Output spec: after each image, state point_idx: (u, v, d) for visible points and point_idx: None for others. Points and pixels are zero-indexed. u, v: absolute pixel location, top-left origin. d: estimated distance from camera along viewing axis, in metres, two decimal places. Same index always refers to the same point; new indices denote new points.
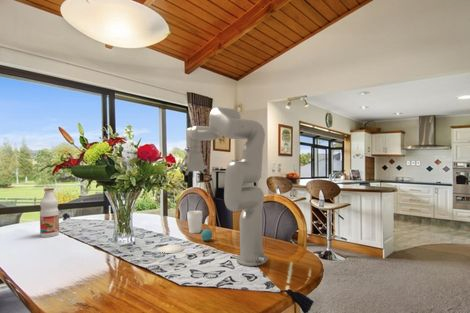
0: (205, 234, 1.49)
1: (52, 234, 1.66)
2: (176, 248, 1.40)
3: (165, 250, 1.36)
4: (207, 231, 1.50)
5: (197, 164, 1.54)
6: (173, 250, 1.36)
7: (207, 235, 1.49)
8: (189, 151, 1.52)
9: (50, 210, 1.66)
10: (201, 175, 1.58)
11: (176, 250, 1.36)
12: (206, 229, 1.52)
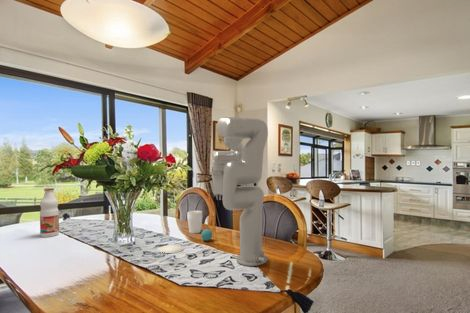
0: (205, 234, 1.49)
1: (52, 234, 1.66)
2: (176, 248, 1.40)
3: (165, 250, 1.36)
4: (207, 231, 1.50)
5: None
6: (173, 250, 1.36)
7: (207, 235, 1.49)
8: None
9: (50, 210, 1.66)
10: None
11: (176, 250, 1.36)
12: (206, 229, 1.52)
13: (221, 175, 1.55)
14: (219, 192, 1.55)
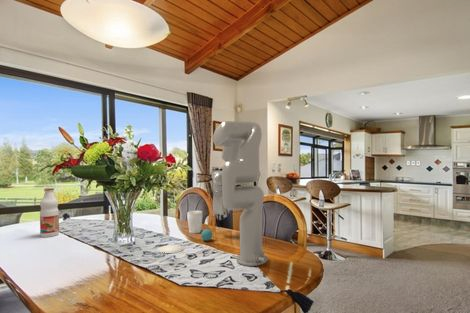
0: (205, 234, 1.49)
1: (52, 234, 1.66)
2: (176, 248, 1.40)
3: (165, 250, 1.36)
4: (207, 231, 1.50)
5: None
6: (173, 250, 1.36)
7: (207, 235, 1.49)
8: None
9: (50, 210, 1.66)
10: None
11: (176, 250, 1.36)
12: (206, 229, 1.52)
13: (221, 195, 1.55)
14: (220, 212, 1.55)
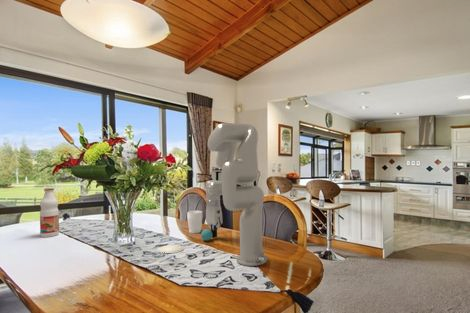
0: (205, 234, 1.49)
1: (52, 234, 1.66)
2: (176, 248, 1.40)
3: (165, 250, 1.36)
4: (207, 231, 1.50)
5: None
6: (173, 250, 1.36)
7: (207, 235, 1.49)
8: (218, 204, 1.53)
9: (50, 210, 1.66)
10: None
11: (176, 250, 1.36)
12: (206, 229, 1.52)
13: (214, 205, 1.51)
14: (212, 222, 1.52)
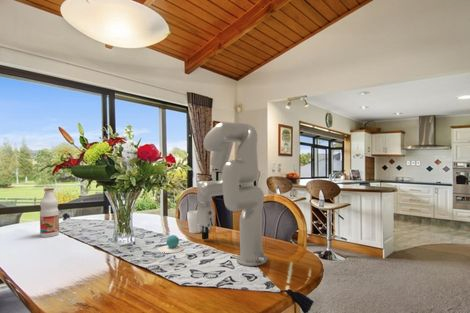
0: (171, 240, 1.39)
1: (52, 234, 1.66)
2: (176, 248, 1.40)
3: (165, 250, 1.36)
4: (173, 237, 1.40)
5: None
6: (173, 250, 1.36)
7: (172, 241, 1.38)
8: (210, 205, 1.50)
9: (50, 210, 1.66)
10: None
11: (176, 250, 1.36)
12: (172, 235, 1.41)
13: (205, 206, 1.48)
14: (204, 223, 1.48)
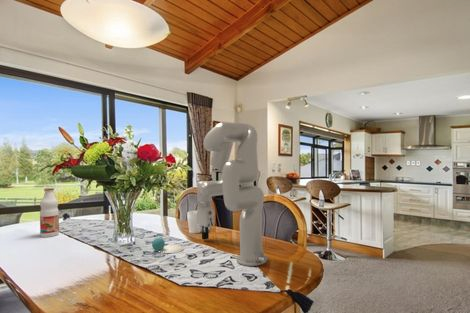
0: (160, 249, 1.36)
1: (52, 234, 1.66)
2: (176, 248, 1.40)
3: (165, 250, 1.36)
4: (156, 249, 1.35)
5: None
6: (173, 250, 1.36)
7: (161, 247, 1.35)
8: (210, 205, 1.50)
9: (50, 210, 1.66)
10: None
11: (176, 250, 1.36)
12: (154, 249, 1.36)
13: (205, 206, 1.48)
14: (204, 223, 1.48)
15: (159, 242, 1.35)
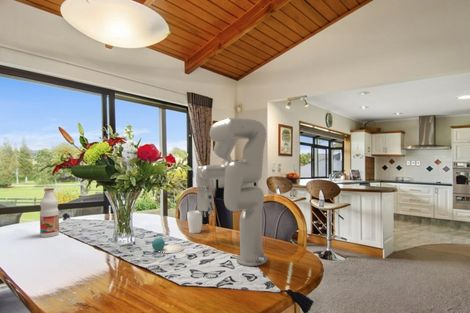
0: (160, 249, 1.36)
1: (52, 234, 1.66)
2: (176, 248, 1.40)
3: (165, 250, 1.36)
4: (156, 249, 1.35)
5: None
6: (173, 250, 1.36)
7: (161, 247, 1.35)
8: (210, 190, 1.50)
9: (50, 210, 1.66)
10: None
11: (176, 250, 1.36)
12: (154, 249, 1.36)
13: (205, 190, 1.48)
14: (204, 208, 1.48)
15: (159, 242, 1.35)
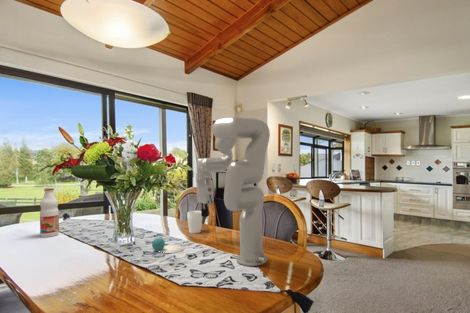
0: (160, 249, 1.36)
1: (52, 234, 1.66)
2: (176, 248, 1.40)
3: (165, 250, 1.36)
4: (156, 249, 1.35)
5: None
6: (173, 250, 1.36)
7: (161, 247, 1.35)
8: (210, 182, 1.50)
9: (50, 210, 1.66)
10: None
11: (176, 250, 1.36)
12: (154, 249, 1.36)
13: (205, 183, 1.48)
14: (203, 200, 1.48)
15: (159, 242, 1.35)
